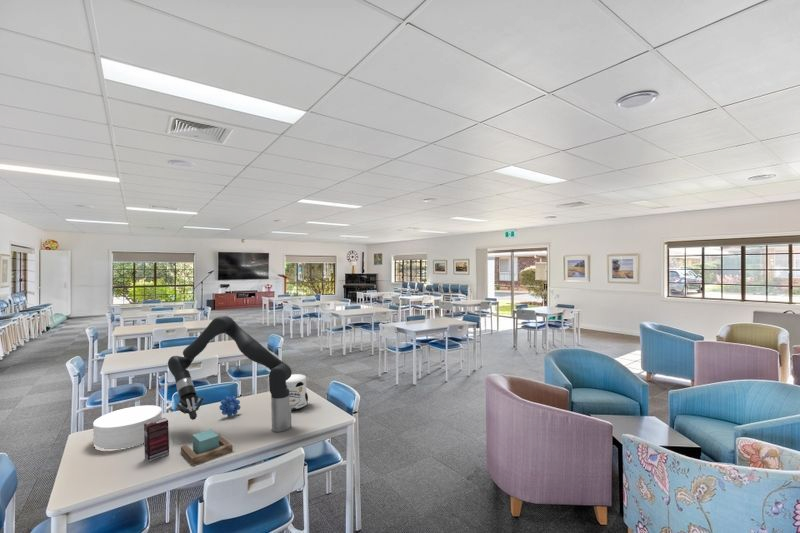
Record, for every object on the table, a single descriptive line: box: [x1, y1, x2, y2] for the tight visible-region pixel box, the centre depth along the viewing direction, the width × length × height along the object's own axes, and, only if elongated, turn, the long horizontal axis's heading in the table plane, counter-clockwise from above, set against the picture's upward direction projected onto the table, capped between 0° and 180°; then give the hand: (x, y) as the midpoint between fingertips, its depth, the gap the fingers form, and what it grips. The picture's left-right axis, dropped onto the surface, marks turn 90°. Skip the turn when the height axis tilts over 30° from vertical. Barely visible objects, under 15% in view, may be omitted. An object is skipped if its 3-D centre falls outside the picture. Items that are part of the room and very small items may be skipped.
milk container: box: [286, 373, 309, 411], centre depth 225 cm, size 17×17×18 cm
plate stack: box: [92, 404, 163, 449], centre depth 187 cm, size 28×28×12 cm
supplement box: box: [144, 417, 170, 462], centre depth 167 cm, size 9×5×16 cm, turn 141°
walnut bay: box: [180, 433, 233, 466], centre depth 171 cm, size 17×16×3 cm
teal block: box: [192, 429, 219, 455], centre depth 170 cm, size 8×10×8 cm
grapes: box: [219, 395, 241, 418], centre depth 211 cm, size 12×7×12 cm, turn 134°
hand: (194, 418), depth 183 cm, fingers closed
